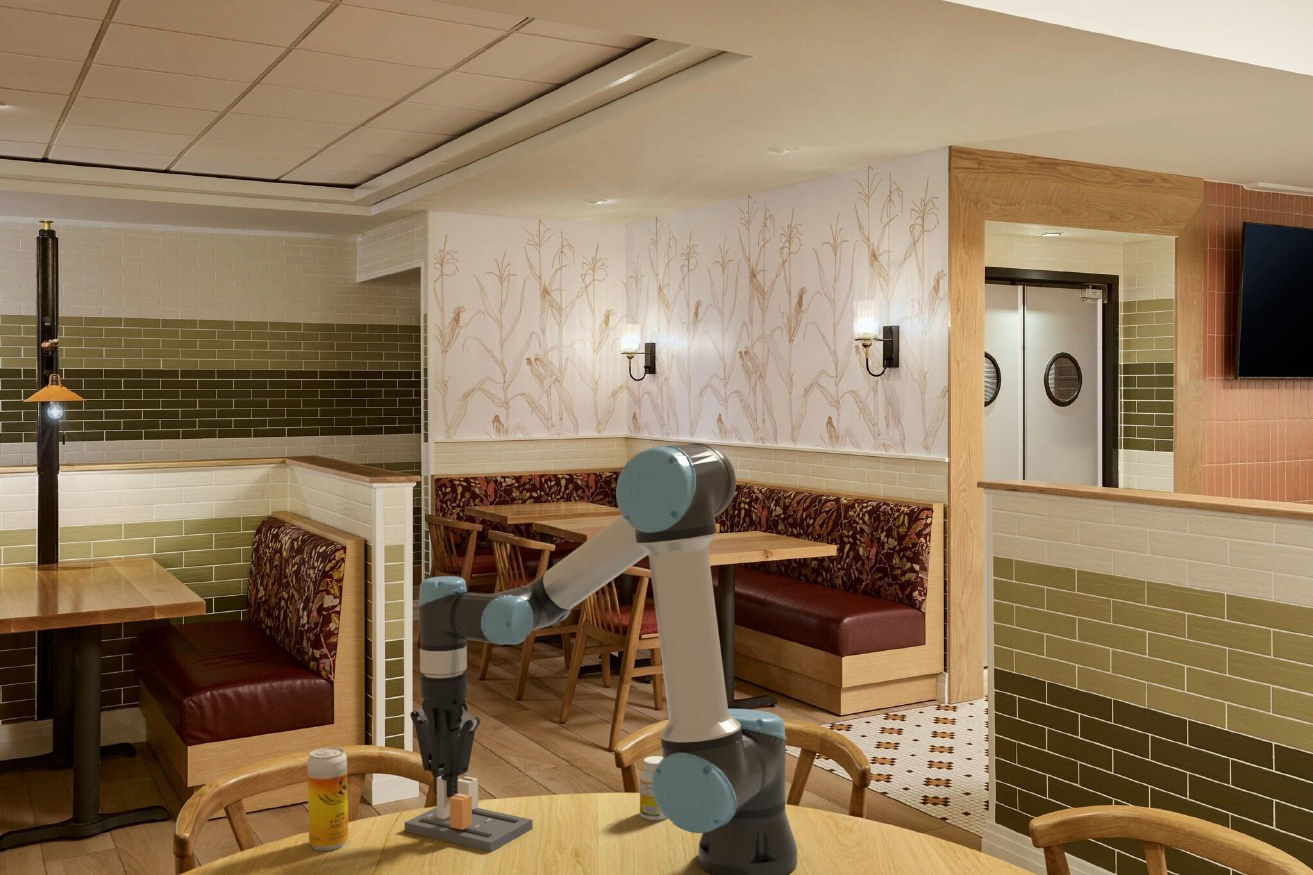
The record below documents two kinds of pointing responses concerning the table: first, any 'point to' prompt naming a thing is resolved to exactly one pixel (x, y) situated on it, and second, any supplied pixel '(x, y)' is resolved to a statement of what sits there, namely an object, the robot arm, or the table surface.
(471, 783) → the cream fader
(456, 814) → the orange fader
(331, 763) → the beer can
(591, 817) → the table surface
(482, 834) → the console
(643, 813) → the supplement bottle
